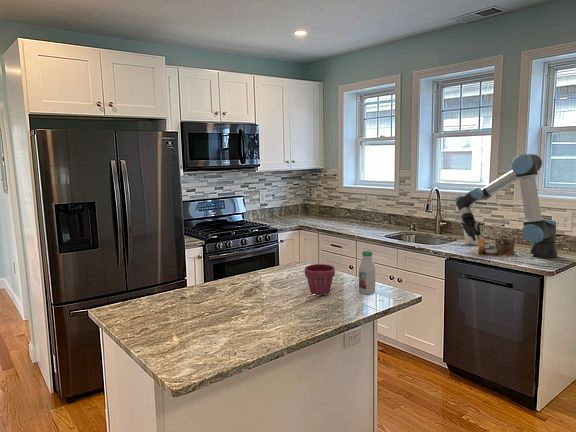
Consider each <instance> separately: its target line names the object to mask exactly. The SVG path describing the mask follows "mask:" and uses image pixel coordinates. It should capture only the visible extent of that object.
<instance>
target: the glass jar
mask: <svg viewBox="0 0 576 432" xmlns="http://www.w3.org/2000/svg"><path fill="white" fill-rule="evenodd" d="M476 222H477V223H479V222H480V235H479V238H485V226H486V225H485V224H486V223H485V222H484V221H476ZM475 228H476V224H475Z"/></svg>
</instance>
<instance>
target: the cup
mask: <svg viewBox="0 0 576 432" xmlns="http://www.w3.org/2000/svg"><path fill="white" fill-rule="evenodd" d="M462 230H463V234H464V241H465V245H476V244H475V241H473V239H472V238H471V236H468V235H467V233H466V232H465V230H464V229H463V228H462ZM476 230H477V229H476Z"/></svg>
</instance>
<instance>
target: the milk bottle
mask: <svg viewBox="0 0 576 432" xmlns="http://www.w3.org/2000/svg"><path fill="white" fill-rule="evenodd" d="M361 254H362V255H361V256H362V260H361V261H360V265H359V267H358V268H359V270H358V292H359V294H361V293H363V294H362V295H367V294H369V295H374V294H375V293H376V266H375V264H374V262H373V252H372V251H370V250H364V251H362V253H361ZM373 293H374V294H373Z"/></svg>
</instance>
